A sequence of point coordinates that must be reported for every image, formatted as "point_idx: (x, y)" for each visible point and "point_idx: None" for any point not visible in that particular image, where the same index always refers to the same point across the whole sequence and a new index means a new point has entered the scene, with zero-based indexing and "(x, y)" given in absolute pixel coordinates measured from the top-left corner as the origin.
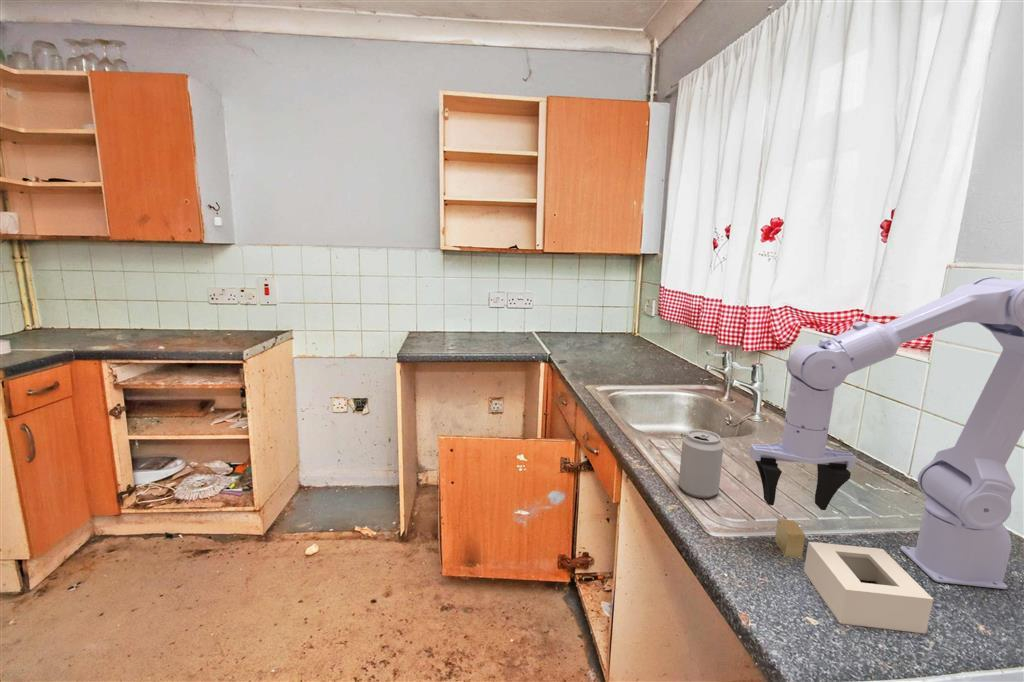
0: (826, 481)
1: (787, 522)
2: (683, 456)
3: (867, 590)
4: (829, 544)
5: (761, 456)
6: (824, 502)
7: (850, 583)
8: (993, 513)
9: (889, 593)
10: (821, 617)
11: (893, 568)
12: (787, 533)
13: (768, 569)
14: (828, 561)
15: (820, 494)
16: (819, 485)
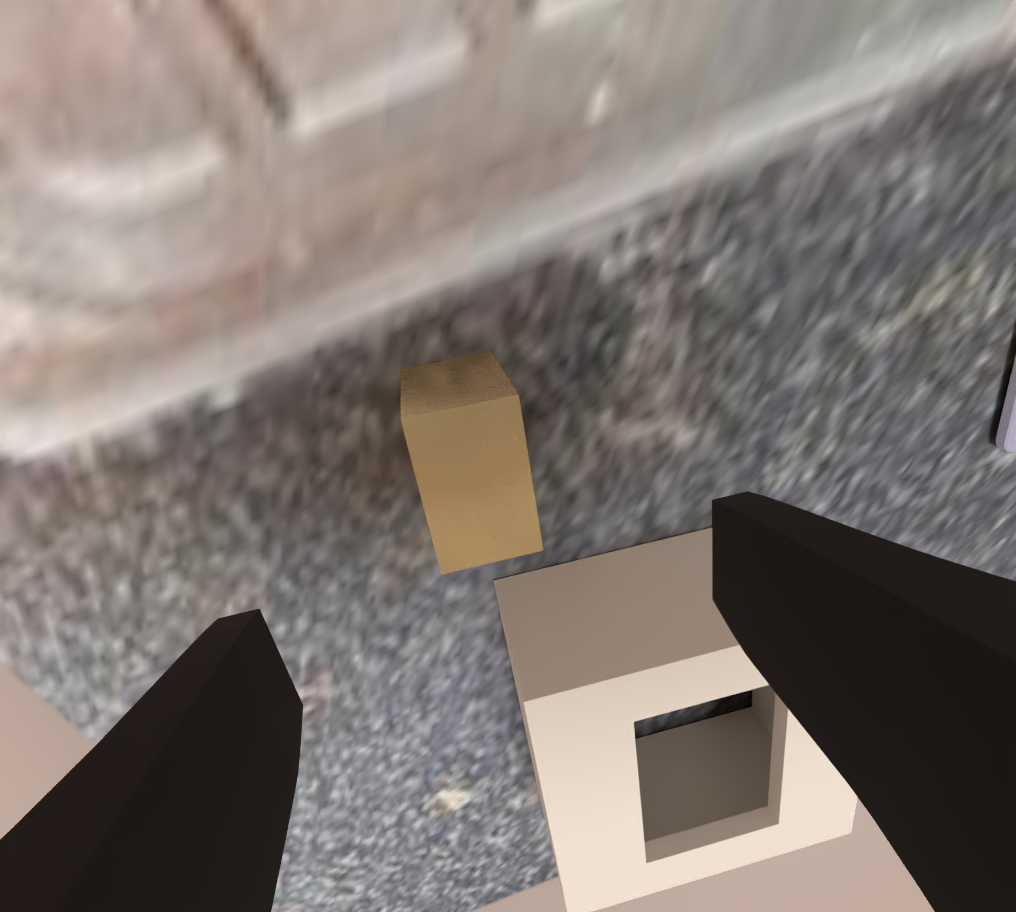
0: (987, 891)
1: (464, 442)
2: None
3: (646, 889)
4: (630, 679)
5: None
6: (769, 676)
7: (601, 884)
8: None
9: (717, 871)
10: (487, 776)
11: None
12: (438, 564)
13: (340, 626)
14: (567, 807)
15: (799, 636)
16: (879, 645)
